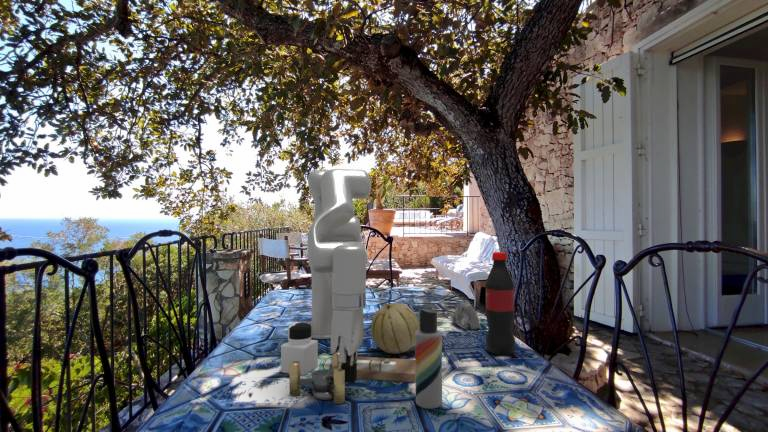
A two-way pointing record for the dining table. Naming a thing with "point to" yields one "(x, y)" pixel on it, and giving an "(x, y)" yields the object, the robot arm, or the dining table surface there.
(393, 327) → the cantaloupe
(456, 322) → the mineral rock
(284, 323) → the dining table surface
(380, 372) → the level board
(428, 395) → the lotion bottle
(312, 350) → the medicine bottle
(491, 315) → the cola bottle
